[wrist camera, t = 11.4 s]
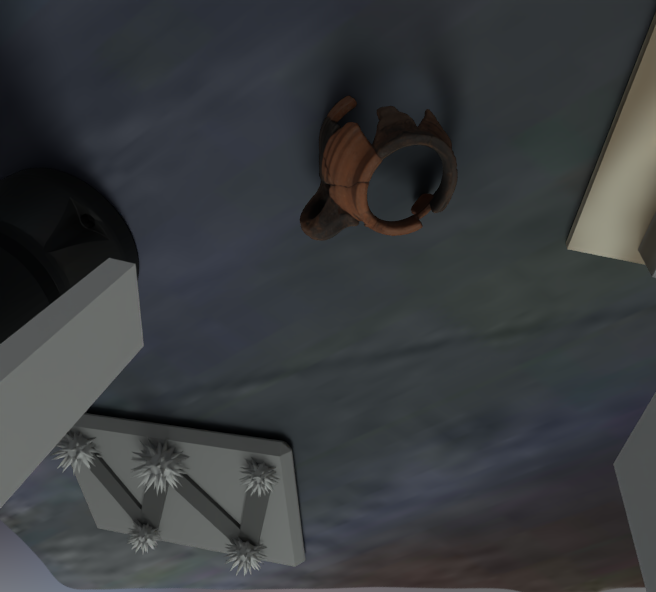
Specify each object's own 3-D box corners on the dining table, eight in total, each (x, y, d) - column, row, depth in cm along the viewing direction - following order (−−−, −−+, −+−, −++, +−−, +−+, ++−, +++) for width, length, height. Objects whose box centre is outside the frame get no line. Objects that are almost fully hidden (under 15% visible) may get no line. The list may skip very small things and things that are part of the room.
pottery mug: (366, 50, 37) (413, 88, 31) (444, 132, 43) (497, 177, 37) (256, 181, 41) (279, 238, 35) (341, 240, 47) (374, 298, 40)
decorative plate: (104, 516, 77) (72, 562, 71) (57, 400, 66) (15, 443, 60) (308, 555, 70) (292, 610, 64) (294, 434, 59) (273, 486, 53)
